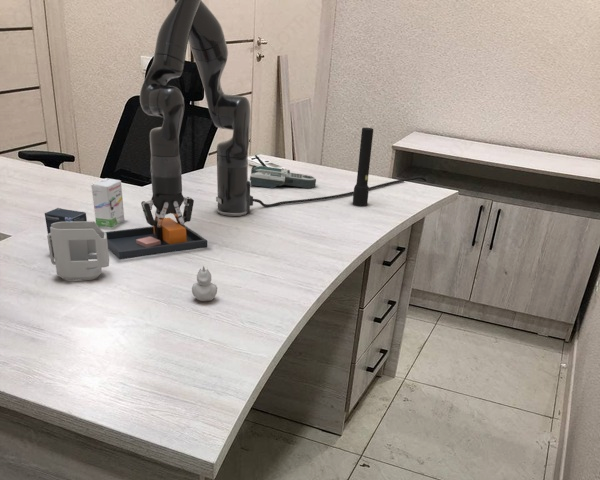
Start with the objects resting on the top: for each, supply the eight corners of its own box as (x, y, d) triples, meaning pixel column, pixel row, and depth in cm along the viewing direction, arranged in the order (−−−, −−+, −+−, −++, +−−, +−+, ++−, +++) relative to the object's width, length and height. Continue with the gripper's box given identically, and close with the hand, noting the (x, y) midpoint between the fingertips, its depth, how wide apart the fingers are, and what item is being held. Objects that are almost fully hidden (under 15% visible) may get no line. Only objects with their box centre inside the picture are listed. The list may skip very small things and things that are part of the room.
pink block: (150, 240, 166) (150, 236, 166) (160, 244, 164) (160, 240, 163) (136, 243, 163) (136, 239, 163) (146, 247, 161) (146, 243, 160)
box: (50, 256, 154) (43, 212, 148) (64, 249, 158) (58, 207, 153) (78, 260, 152) (72, 217, 146) (91, 253, 157) (86, 211, 151)
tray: (181, 231, 176) (181, 222, 175) (207, 249, 164) (207, 240, 163) (98, 241, 165) (97, 232, 163) (120, 261, 153) (119, 252, 152)
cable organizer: (110, 281, 142) (104, 228, 136) (52, 282, 139) (44, 229, 133) (110, 270, 148) (105, 220, 141) (55, 272, 145) (47, 220, 139)
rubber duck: (190, 304, 134) (189, 268, 130) (194, 292, 139) (193, 257, 135) (215, 305, 134) (215, 269, 130) (218, 293, 140) (218, 259, 135)
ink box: (111, 229, 174) (107, 186, 168) (95, 227, 175) (90, 184, 169) (125, 221, 181) (121, 179, 175) (109, 219, 182) (105, 177, 176)
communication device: (315, 191, 224) (317, 166, 219) (249, 187, 223) (250, 161, 219) (315, 183, 234) (317, 159, 229) (252, 179, 234) (252, 154, 229)
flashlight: (349, 203, 212) (360, 207, 209) (356, 127, 199) (368, 129, 196) (359, 201, 215) (370, 205, 212) (367, 126, 202) (378, 129, 199)
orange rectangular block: (170, 234, 171) (169, 217, 169) (187, 245, 164) (186, 228, 161) (153, 236, 169) (152, 219, 167) (169, 248, 161) (168, 230, 159)
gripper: (144, 178, 151) (149, 246, 160) (198, 174, 158) (200, 239, 167) (133, 171, 156) (139, 238, 165) (186, 167, 163) (188, 231, 172)
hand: (170, 238), depth 166 cm, fingers closed on orange rectangular block, 5 cm apart
